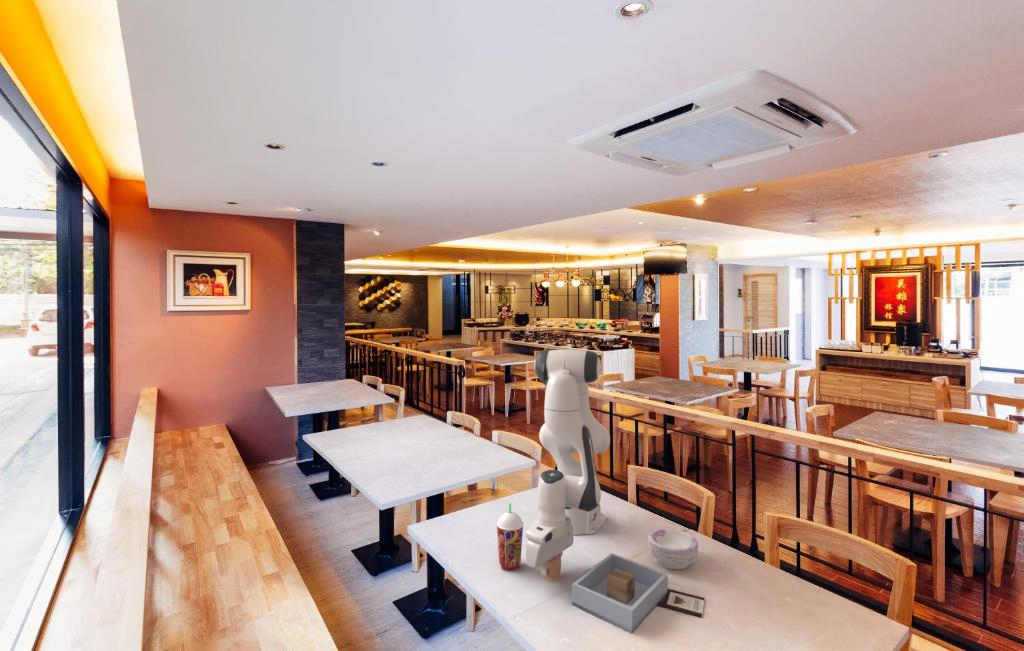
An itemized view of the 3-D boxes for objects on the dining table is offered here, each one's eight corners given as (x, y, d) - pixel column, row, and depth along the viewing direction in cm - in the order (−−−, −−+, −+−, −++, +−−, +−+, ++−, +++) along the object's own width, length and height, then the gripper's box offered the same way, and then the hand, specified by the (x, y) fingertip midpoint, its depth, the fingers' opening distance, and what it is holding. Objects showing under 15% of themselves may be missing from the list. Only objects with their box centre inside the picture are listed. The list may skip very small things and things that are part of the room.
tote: (611, 571, 155) (611, 553, 155) (667, 594, 144) (667, 574, 143) (571, 605, 138) (572, 584, 138) (631, 633, 127) (632, 610, 126)
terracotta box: (548, 569, 156) (549, 552, 156) (560, 575, 153) (561, 557, 153) (540, 576, 153) (540, 558, 152) (552, 581, 150) (552, 563, 149)
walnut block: (615, 588, 145) (615, 568, 144) (634, 596, 141) (634, 575, 141) (606, 595, 141) (607, 575, 141) (626, 604, 137) (626, 583, 137)
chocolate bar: (640, 581, 149) (704, 597, 141) (639, 584, 149) (704, 601, 141) (633, 597, 141) (701, 616, 133) (633, 601, 141) (701, 619, 133)
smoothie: (520, 574, 153) (520, 510, 152) (493, 571, 155) (494, 508, 154) (525, 560, 161) (525, 499, 160) (499, 557, 163) (500, 497, 162)
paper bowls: (653, 546, 171) (654, 523, 171) (700, 557, 164) (701, 533, 164) (642, 567, 158) (643, 542, 158) (693, 580, 151) (694, 554, 150)
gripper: (562, 511, 162) (561, 553, 163) (522, 534, 146) (521, 580, 147) (578, 517, 158) (578, 559, 159) (539, 541, 142) (539, 588, 143)
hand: (550, 569), depth 153 cm, fingers closed on terracotta box, 4 cm apart
